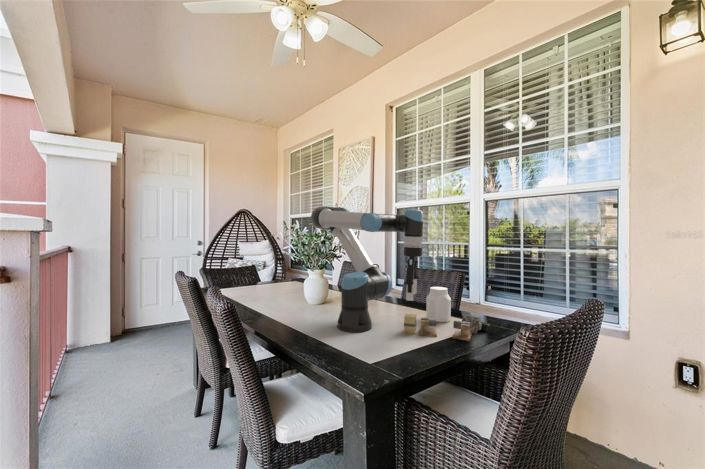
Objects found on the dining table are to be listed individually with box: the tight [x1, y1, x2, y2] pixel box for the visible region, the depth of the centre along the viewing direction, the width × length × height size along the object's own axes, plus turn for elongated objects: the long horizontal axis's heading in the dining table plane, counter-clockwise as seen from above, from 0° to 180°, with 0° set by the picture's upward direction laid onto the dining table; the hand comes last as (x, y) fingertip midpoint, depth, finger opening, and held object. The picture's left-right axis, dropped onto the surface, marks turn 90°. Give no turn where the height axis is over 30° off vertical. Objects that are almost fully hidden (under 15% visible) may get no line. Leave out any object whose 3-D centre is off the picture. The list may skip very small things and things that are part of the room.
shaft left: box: [419, 317, 438, 337], centre depth 136 cm, size 6×8×6 cm
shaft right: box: [451, 320, 473, 342], centre depth 132 cm, size 6×8×6 cm
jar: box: [425, 286, 452, 323], centre depth 157 cm, size 12×10×15 cm
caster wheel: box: [461, 313, 489, 335], centre depth 141 cm, size 7×11×10 cm
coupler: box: [403, 313, 418, 335], centre depth 138 cm, size 5×5×7 cm
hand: (411, 297), depth 138 cm, fingers open, 13 cm apart
